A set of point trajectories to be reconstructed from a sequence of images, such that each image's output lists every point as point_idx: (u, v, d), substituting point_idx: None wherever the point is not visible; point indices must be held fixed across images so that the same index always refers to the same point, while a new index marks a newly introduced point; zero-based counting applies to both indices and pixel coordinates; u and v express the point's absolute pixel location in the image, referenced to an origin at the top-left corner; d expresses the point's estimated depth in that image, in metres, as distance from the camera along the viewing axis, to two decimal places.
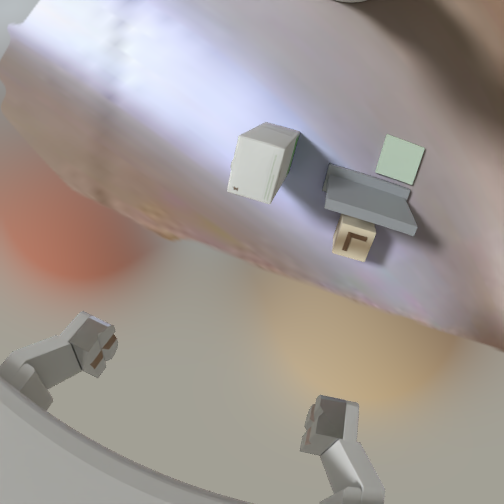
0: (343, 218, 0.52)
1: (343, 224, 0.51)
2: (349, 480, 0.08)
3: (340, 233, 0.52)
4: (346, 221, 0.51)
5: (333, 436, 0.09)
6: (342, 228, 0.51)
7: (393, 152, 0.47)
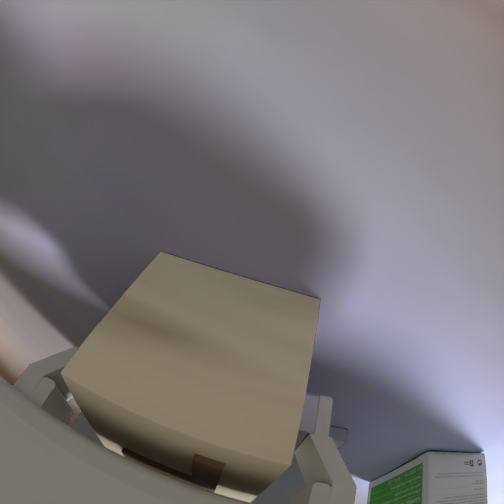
0: None
1: None
2: (320, 476, 0.08)
3: (251, 494, 0.08)
4: None
5: (304, 430, 0.09)
6: (245, 498, 0.09)
7: None
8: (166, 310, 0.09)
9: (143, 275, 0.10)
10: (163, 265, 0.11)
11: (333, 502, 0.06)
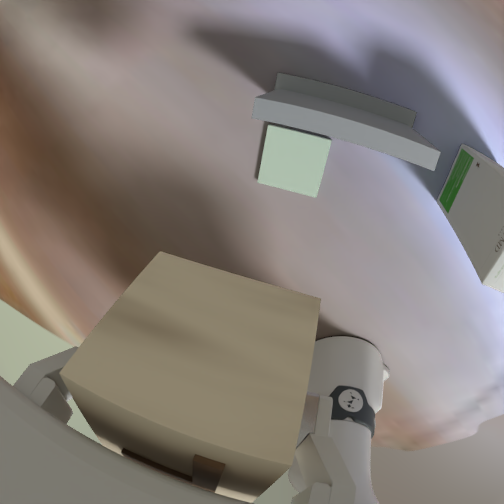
0: None
1: None
2: (320, 476, 0.08)
3: (251, 494, 0.08)
4: None
5: (303, 430, 0.09)
6: (246, 498, 0.09)
7: (305, 172, 0.34)
8: (165, 309, 0.09)
9: (142, 274, 0.10)
10: (162, 264, 0.11)
11: (333, 502, 0.06)
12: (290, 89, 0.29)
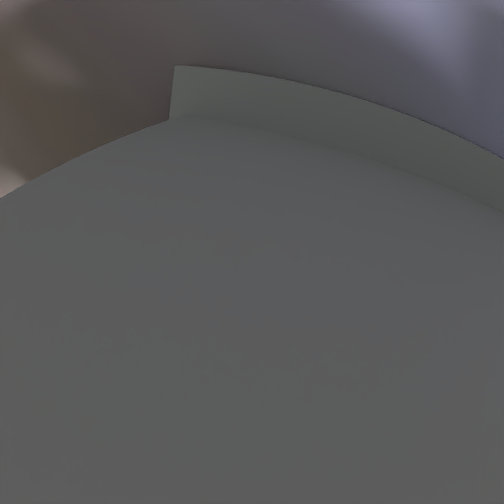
0: None
1: None
2: None
3: None
4: None
5: None
6: None
7: None
8: None
9: None
10: None
11: None
12: (214, 115, 0.09)
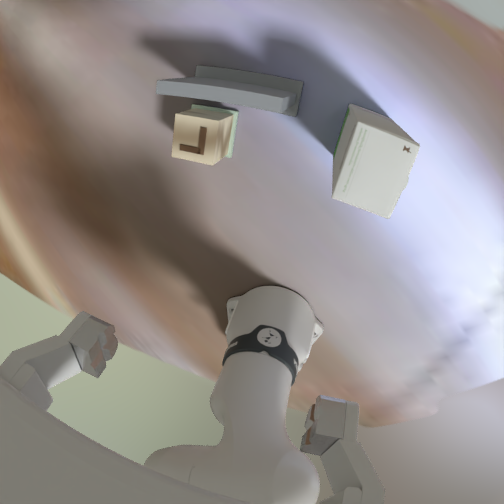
0: (216, 161, 0.41)
1: (211, 163, 0.39)
2: (349, 480, 0.08)
3: (212, 150, 0.39)
4: None
5: (333, 436, 0.08)
6: (211, 158, 0.39)
7: None
8: (197, 111, 0.40)
9: (191, 109, 0.41)
10: (195, 108, 0.41)
11: None
12: (205, 76, 0.39)
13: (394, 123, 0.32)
